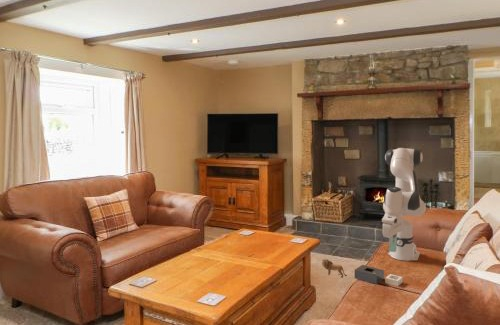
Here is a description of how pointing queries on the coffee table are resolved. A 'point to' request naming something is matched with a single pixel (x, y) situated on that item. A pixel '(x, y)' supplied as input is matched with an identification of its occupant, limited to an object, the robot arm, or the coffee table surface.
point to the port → (369, 274)
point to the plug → (393, 244)
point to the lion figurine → (332, 267)
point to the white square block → (393, 280)
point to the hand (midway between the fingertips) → (392, 241)
